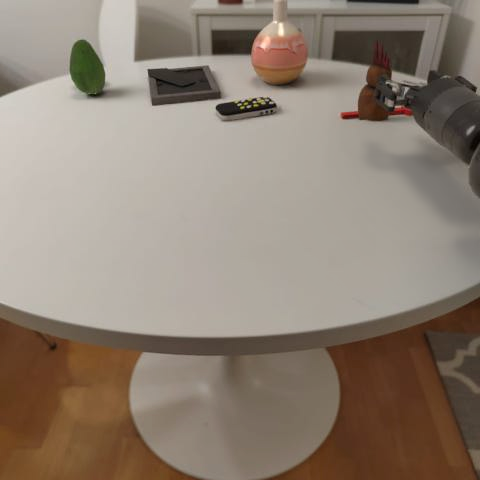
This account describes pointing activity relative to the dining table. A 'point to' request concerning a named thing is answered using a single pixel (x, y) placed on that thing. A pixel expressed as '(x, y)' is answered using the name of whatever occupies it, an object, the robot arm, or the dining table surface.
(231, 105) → the remote control
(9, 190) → the dining table surface
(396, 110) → the red spoon
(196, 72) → the picture frame
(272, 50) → the vase
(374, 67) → the wooden figurine
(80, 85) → the avocado
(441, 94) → the robot arm
